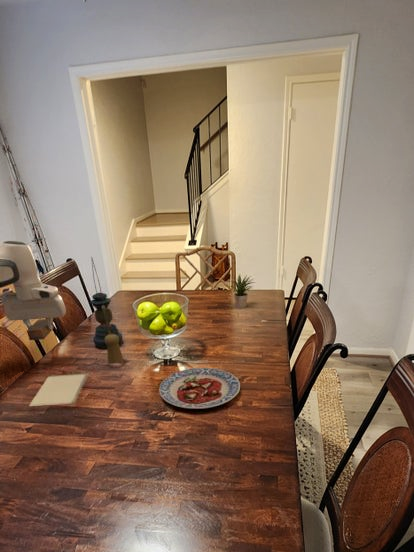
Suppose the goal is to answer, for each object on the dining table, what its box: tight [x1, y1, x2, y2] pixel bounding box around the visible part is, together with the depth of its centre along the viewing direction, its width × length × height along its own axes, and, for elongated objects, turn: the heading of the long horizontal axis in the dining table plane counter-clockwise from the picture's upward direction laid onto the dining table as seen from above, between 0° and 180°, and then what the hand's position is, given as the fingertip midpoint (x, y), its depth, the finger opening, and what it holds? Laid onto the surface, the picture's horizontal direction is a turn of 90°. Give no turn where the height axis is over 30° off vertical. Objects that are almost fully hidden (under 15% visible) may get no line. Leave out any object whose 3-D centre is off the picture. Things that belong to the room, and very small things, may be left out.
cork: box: [105, 334, 125, 365], centre depth 138 cm, size 6×6×11 cm
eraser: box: [26, 318, 55, 341], centre depth 134 cm, size 5×12×4 cm, turn 3°
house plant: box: [229, 274, 256, 309], centre depth 187 cm, size 14×14×16 cm
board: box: [28, 373, 89, 407], centre depth 123 cm, size 14×20×1 cm
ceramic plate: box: [158, 367, 241, 410], centre depth 118 cm, size 26×26×3 cm
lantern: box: [90, 256, 123, 350], centre depth 147 cm, size 14×12×35 cm
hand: (41, 330), depth 134 cm, fingers closed on eraser, 5 cm apart
